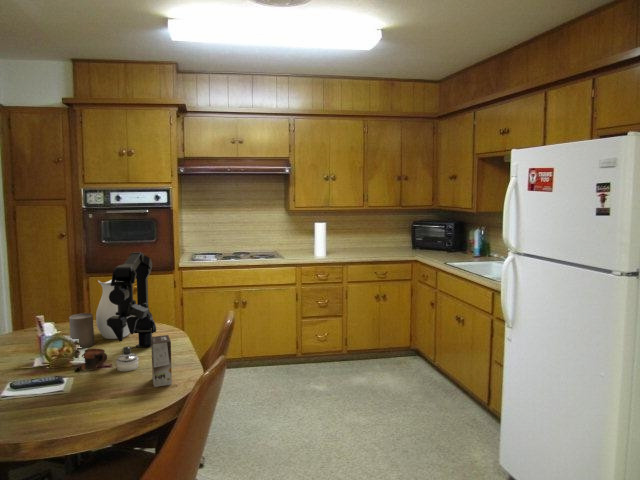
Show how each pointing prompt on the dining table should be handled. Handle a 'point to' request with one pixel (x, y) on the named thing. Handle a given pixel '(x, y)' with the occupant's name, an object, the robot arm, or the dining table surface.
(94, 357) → the pottery mug
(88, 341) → the pillar candle
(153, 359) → the coffee box
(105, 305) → the pitcher
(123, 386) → the dining table surface
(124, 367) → the press
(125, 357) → the plunger
